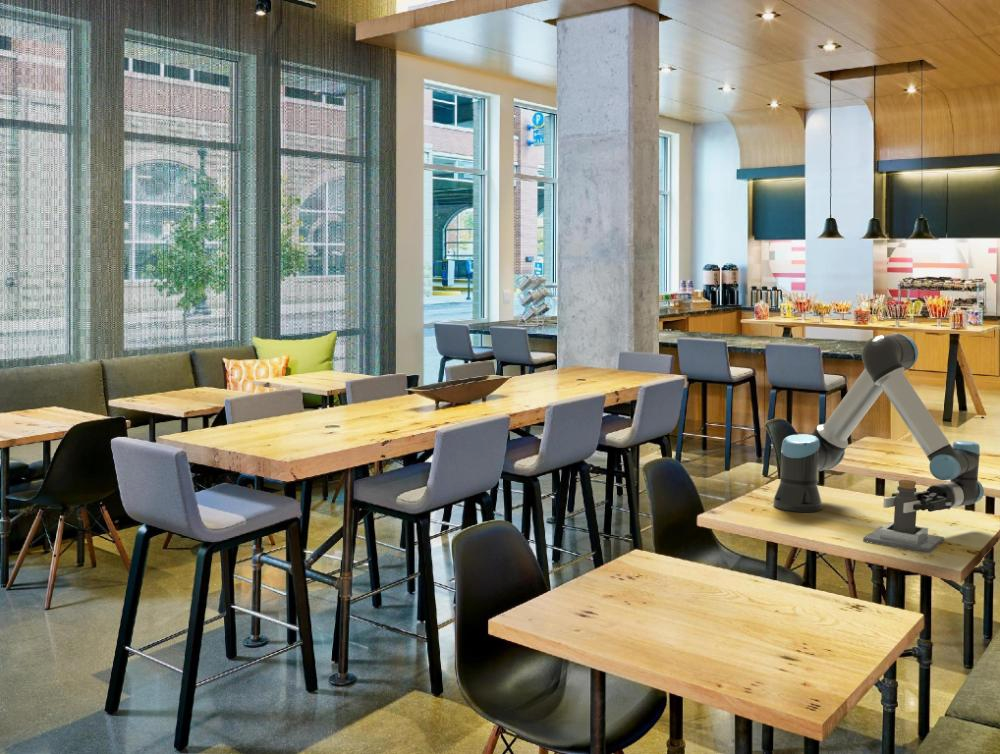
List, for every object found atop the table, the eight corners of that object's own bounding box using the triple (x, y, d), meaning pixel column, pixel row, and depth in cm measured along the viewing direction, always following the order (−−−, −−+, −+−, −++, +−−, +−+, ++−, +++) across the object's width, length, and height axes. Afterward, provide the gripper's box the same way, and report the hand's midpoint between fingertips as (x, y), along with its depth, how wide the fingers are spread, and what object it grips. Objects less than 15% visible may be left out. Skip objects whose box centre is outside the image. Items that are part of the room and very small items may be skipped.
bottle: (890, 532, 284) (893, 481, 282) (896, 528, 288) (899, 478, 286) (911, 536, 280) (915, 484, 278) (917, 531, 285) (920, 481, 283)
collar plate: (863, 541, 284) (864, 528, 283) (880, 530, 296) (881, 518, 296) (928, 553, 273) (929, 540, 272) (943, 540, 285) (944, 528, 285)
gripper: (972, 515, 285) (923, 526, 273) (914, 501, 301) (866, 511, 289) (974, 490, 284) (924, 499, 272) (916, 477, 300) (867, 486, 288)
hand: (894, 505), depth 280 cm, fingers closed on bottle, 6 cm apart
